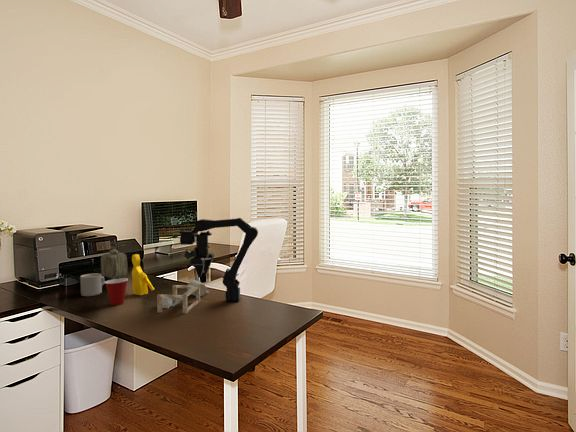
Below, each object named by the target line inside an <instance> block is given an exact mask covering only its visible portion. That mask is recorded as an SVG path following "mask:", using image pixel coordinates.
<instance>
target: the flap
mask: <svg viewBox="0 0 576 432" xmlns="http://www.w3.org/2000/svg"><path fill="white" fill-rule="evenodd" d="M194 288H195V287H192V288H191V289H189V290H188V291H185V292H184V293H183V294H181V295H185V294H187V293H188V292H189V291H191V290H192V289H194ZM180 302H183V298H177V300H176V301H175V302H172V306H171V307H175V306H176V305H177V304H179V303H180Z"/></svg>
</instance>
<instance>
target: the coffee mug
mask: <svg viewBox="0 0 576 432" xmlns="http://www.w3.org/2000/svg"><path fill="white" fill-rule="evenodd" d="M105 281H106V280H105V276H103V275H102V274H101V273H96V272H95V273H87V274H82V275H80V296H82V297H91V296H92V297H93V296H98V295H101V294H102V293H103V286H104V285H105V283H104V282H105ZM100 293H101V294H100Z"/></svg>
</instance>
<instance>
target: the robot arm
mask: <svg viewBox="0 0 576 432" xmlns="http://www.w3.org/2000/svg"><path fill="white" fill-rule="evenodd" d="M230 227H237V228H239V229H240V230H241V231H242V232H243V233H244V234H245V235H244V239H243V242H242V244H241V247H240V248H239V251H238V252H237V255H236V257H235V259H234V261H233V263H232V264H231V267H230V268H226V270H225V271H224V274H223V276H222V284H223V285H224V286H225V288H226V291H225V302H226V303H239V302H240V301H241V299H242V297H241V287H239V286H240V284H241V282H240V281H239V280H238V279H237V275H238V272H239V268H240V266H241V264H242V263H243V260H244V259H245V257H246V255H247V253H248V251H249V248H250V246H251V245H252V243H253V242H254V241H255V240H256V238H257V237H258V234H259V230H258V228H256V227H255V226H252V225H250V224H249V223H247V222H246V221H245V220H244V219H243V218H241V217H238V218H229V219H228V218H227V219H217V220H216V219H215V220H214V219H205V218H201V219H198V220H197V221H195V223H194V227H193V229H192V230H191V231H190V230H189V231H186V230H181V233H180V237H179V242H180V245H182V246H183V245H184V246H185V245H187V246H189V245H191V246H192V245H194V243H195V247H194V249H193V250H191V251H190V250H186V251H184V254H183V255H184V258H185V259H186V260H189V265H190V266H193V268H194V269H195V272H196V275H197V277H198V279H199V278H202V275H203V272H204V274H208V272H209V269H210V267H211V264H212V262H213V261H214V259H215V255H214V253H213V252H209V248H210V245H209V236H212V235H213V234H212V232H210V230H211V229H216V228H217V229H218V228H219V229H220V228H230ZM199 232H200V233H199Z"/></svg>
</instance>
